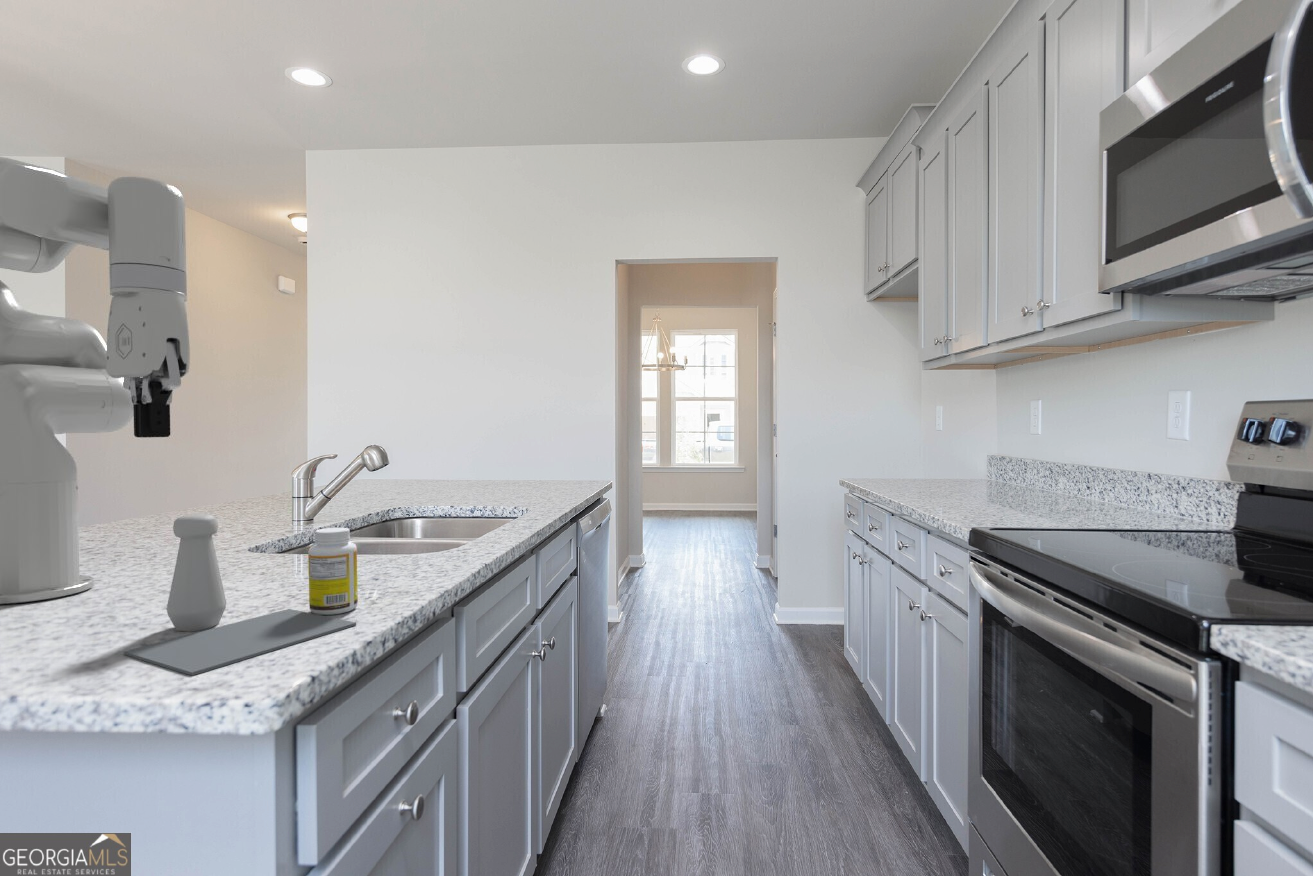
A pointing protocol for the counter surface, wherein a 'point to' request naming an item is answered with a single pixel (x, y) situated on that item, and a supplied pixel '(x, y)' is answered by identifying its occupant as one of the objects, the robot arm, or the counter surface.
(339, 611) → the supplement bottle
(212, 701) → the counter surface
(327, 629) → the mat
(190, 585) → the salt shaker
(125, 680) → the counter surface
